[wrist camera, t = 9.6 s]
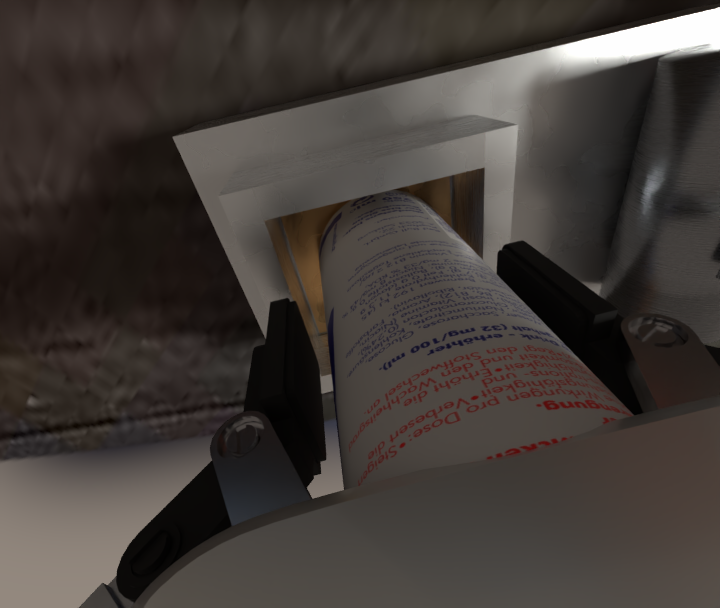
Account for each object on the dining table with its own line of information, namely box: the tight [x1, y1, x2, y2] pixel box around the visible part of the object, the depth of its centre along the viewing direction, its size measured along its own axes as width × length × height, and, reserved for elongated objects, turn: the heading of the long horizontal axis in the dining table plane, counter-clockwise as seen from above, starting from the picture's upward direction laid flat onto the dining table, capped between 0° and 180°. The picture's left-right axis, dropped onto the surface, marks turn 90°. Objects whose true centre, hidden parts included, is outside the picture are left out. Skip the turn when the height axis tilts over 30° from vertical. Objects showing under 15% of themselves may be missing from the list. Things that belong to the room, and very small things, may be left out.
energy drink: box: [319, 190, 634, 490], centre depth 10 cm, size 5×5×12 cm
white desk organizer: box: [173, 3, 720, 393], centre depth 14 cm, size 22×12×11 cm, turn 101°
